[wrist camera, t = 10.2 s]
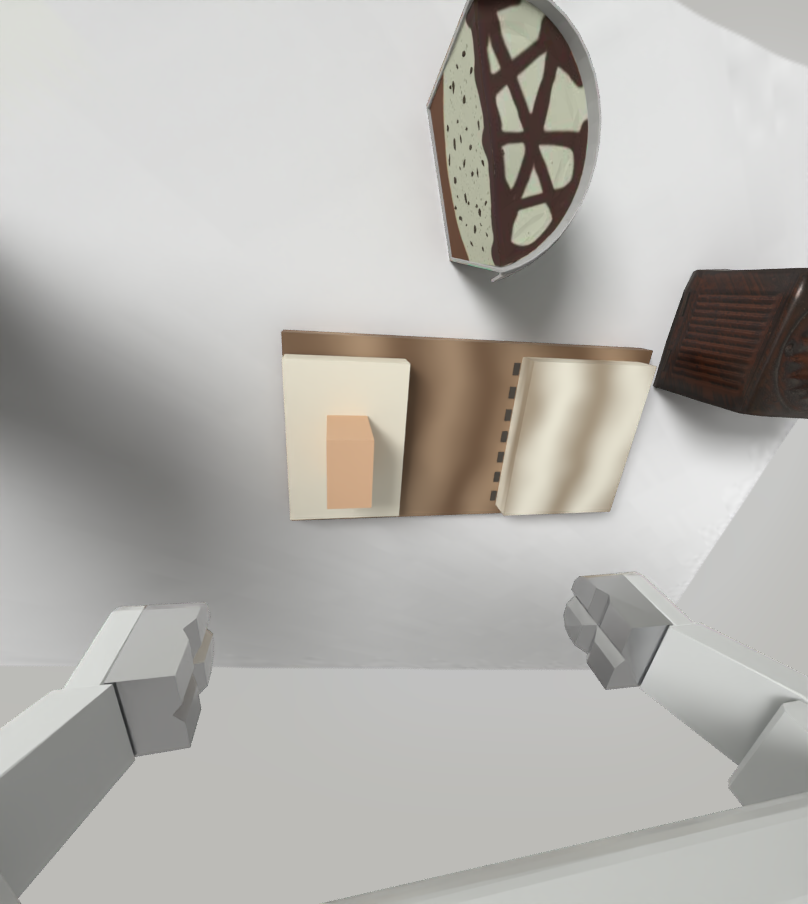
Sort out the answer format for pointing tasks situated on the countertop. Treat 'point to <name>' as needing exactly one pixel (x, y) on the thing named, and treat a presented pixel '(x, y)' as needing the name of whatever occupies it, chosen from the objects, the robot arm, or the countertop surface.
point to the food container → (513, 132)
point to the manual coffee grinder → (741, 342)
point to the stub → (344, 434)
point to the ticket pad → (506, 420)
